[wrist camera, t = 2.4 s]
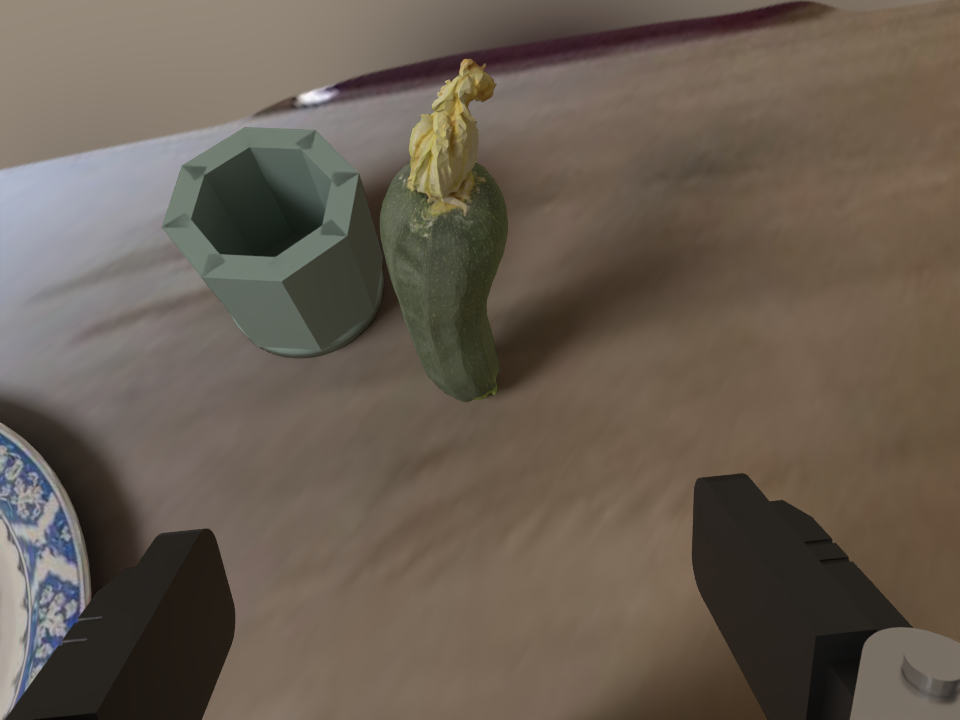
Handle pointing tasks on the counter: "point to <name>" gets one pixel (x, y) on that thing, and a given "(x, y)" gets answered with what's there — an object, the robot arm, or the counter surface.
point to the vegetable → (448, 241)
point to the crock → (281, 239)
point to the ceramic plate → (35, 566)
